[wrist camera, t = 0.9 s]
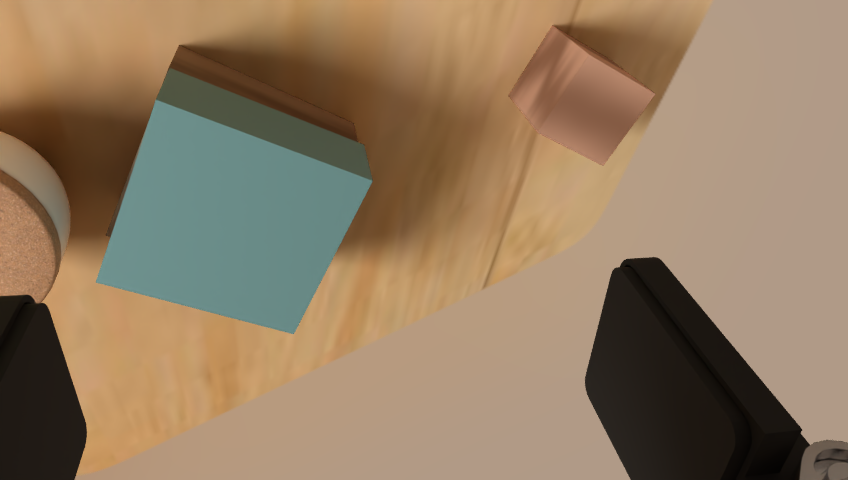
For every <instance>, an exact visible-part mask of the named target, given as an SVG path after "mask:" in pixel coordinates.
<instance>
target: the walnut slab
mask: <svg viewBox="0 0 848 480" xmlns="http://www.w3.org/2000/svg"><path fill="white" fill-rule="evenodd" d="M170 68H171V69H174V70H176V71H179V72H182V73H184V74H187V75H189V76H192V77H194V78H197V79H199V80H202V81H204V82H207V83H209V84H212V85H214V86H217V87H219V88H222V89H224V90H227V91H230V92H232V93H235V94H237V95H240V96H242V97H245V98H247V99H250V100H252V101H255V102H257V103H260V104H262V105H265V106H267V107H270V108H272V109H275V110H278V111H280V112H283V113H285V114H288V115H290V116H293V117H295V118H298V119H300V120H303V121H305V122H308V123H310V124H313V125H315V126H318V127H320V128H323V129H326V130H328V131H331V132H333V133H336V134H338V135H341V136H343V137H346V138H348V139H351V140H353V141H356V142H358V141H357V136H356V132H355V127H354V123H352V122H350V121H347V120H345V119H343V118H341V117H338V116H336V115H334V114H332V113H329V112H327V111H325V110H323V109H321V108H318V107H316V106H314V105H312V104H309V103H307V102H305V101H303V100H300V99H298V98H296V97H294V96H292V95H289V94H287V93H285V92H283V91H280V90H278V89H276V88H274V87H271V86H269V85H267V84H265V83H263V82H260V81H258V80H256V79H254V78H251V77H249V76H247V75H245V74H242V73H240V72H238V71H236V70H233V69H231V68H229V67H227V66H225V65H222V64H220V63H218V62H216V61H213V60H211V59H209V58H207V57H204V56H202V55H200V54H198V53H196V52H193V51H191V50H189V49H187V48H184V47H182V46H180V45H179V47H178V49H177V51H176V53H175V55H174V58H173V60H172V62H171V64H170V66H169V69H170ZM169 69H168V71H169ZM168 71H167V73H168ZM166 75H167V74H166ZM165 78H166V77H165ZM164 80H165V79H164ZM162 85H163V84H162ZM147 125H148V124H147ZM146 128H147V127H146ZM145 131H146V130H145ZM144 134H145V132H144ZM143 137H144V135H143ZM142 140H143V138H142ZM142 140H141V143H142ZM141 143H140V146H141ZM140 146H139V148H138V151H137V154H136V156H135V159H134V162H133V164H132V167H131V170H130V172H129V175H128V178H127V180H126V183H125V186H124V188H123V191H122V194H121V196H120V199H119V202H118V204H117V207H116V209H115V212H114V215H113V217H112V220H111V223H110V225H109V228H108V231H107V233H106V236H110V237H111V235H112V232H113V229H114V226H115V222H116V219H117V216H118V213H119V210H120V207H121V204H122V201H123V198H124V195H125V192H126V189H127V186H128V183H129V180H130V177H131V174H132V171H133V168H134V165H135V162H136V159H137V156H138V153H139V149H140Z"/></svg>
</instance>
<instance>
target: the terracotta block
mask: <svg viewBox="0 0 848 480" xmlns="http://www.w3.org/2000/svg"><path fill="white" fill-rule="evenodd" d="M654 95H655V93H654V92H652V91H651V90H650V89H648V88H647V87H646V86H644V85H643V84H642V83H640V82H639V81H638V80H637V79H635V78H634V77H633V76H631V75H630V74H629V73H627V72H626V71H625V70H623V69H622V68H621V67H619V66H618V65H617V64H615V63H614V62H613V61H611V60H609V59H608V58H606V57H604V56H603V55H601V54H599V53H598V52H596V51H594V50H593V49H591V48H589V47H588V46H586V45H584V44H583V43H581V42H579V41H578V40H576V39H574V38H573V37H571V36H569V35H568V34H566V33H564V32H563V31H561V30H559V29H558V28H556V27H554V26H553V25H552V27H551V28H550V30H549V32H548V33H547V35H546V36H545V38H544V39H543V41H542V43H541V44H540V46H539V47H538V49H537V51H536V52H535V54H534V55H533V57H532V59H531V60H530V62H529V63H528V65H527V67H526V68H525V70H524V71H523V73H522V75H521V76H520V78H519V79H518V81H517V83H516V84H515V86H514V87H513V89H512V91H511V92H510V94H509V95H508V96H509V97H510V98H511V100H512V101H513V102H514V103H515V105H516V106H517V107H518V108H519V110H520V111H521V112H522V113H523V115H524V116H525V117H526V119H527V120H528V121H529V122H530V124H531V125H532V126H533V127H534V129H535V130H536V131H537V132H538V133H539V134H541V135H543V136H545V137H547V138H549V139H551V140H553V141H555V142H557V143H559V144H561V145H563V146H565V147H567V148H569V149H571V150H573V151H575V152H577V153H579V154H581V155H583V156H585V157H587V158H589V159H591V160H592V161H594V162H596V163H598V164H600V165H602V166H603V165H604V164H605V163H606V161H607V160H608V159H609V157H610V156H611V154H612V153H613V152H614V150H615V149H616V148H617V146H618V145H619V143H620V142H621V141H622V139H623V138H624V137H625V135H626V134H627V132H628V131H629V130H630V128H631V127H632V126H633V124H634V123H635V122H636V120H637V119H638V117H639V116H640V115H641V113H642V112H643V111H644V109H645V108H646V106H647V105H648V104H649V102H650V101H651V100H652V98H653V97H654Z"/></svg>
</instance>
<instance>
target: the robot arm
mask: <svg viewBox="0 0 848 480" xmlns="http://www.w3.org/2000/svg"><path fill="white" fill-rule="evenodd" d="M585 386H586V391H587V395H588V397H589V399H590V401H591V403H592V405H593V407H594V409H595V411H596V413H597V415H598V417H599V419H600V421H601V423H602V425H603V427H604V429H605V430H606V432H607V434H608V436H609V438H610V440H611V442H612V444H613V446H614V448H615V450H616V452H617V454H618V456H619V458H620V460H621V462H622V463H623V465H624V467H625V469H626V471H627V473H628V475H629V477H630V479H631V480H848V443H847V442H843V441H832V440H824V441H820V442H815V443H813V444H812V445H810V444H809V443H808V442H807V441H806V440H805V438H804V437H803V436H802V435H801V431H802V429H801V428H800V426H799V425H798V424H797V423H796V421H795V420H794V419H793V418H792V417H791V416H790V414H789V413H788V412H787V411H786V409H785V408H784V407H783V406H782V405H781V403H780V402H779V401H778V400H777V399H776V397H775V396H774V395H773V394H772V393H771V391H769V389H768V388H767V387H766V386H765V384H764V383H763V382H762V381H761V379H760V378H759V377H758V376H757V375H756V373H755V372H754V371H753V370H752V369H751V367H750V366H749V365H748V364H747V363H746V361H745V360H744V359H743V358H742V357H741V355H740V354H739V353H738V352H737V351H736V349H735V348H734V347H733V346H732V345H731V343H730V342H729V341H728V340H727V339H726V338H725V336H724V335H723V334H722V332H721V331H720V330H719V329H718V328H717V327H716V325H715V324H714V323H713V322H712V320H711V319H710V318H709V317H708V316H707V314H706V313H705V312H704V311H703V310H702V308H701V307H700V306H699V305H698V304H697V302H696V301H695V300H694V299H693V298H692V296H691V295H690V294H689V293H688V292H687V290H686V289H685V288H684V287H683V286H682V284H681V283H680V282H679V281H678V280H677V278H676V277H675V276H674V275H673V274H672V272H671V271H670V270H669V269H668V268H667V266H666V265H665V264H664V263H663V262H662V261H661V260H660V259H659V258H656V257H652V258H634V259H626V260H624V261H623V262H622V263H621V266H620V267H618V268H615V269H614V270H613V271H612V274H611V277H610V281H609V285H608V289H607V293H606V297H605V301H604V305H603V309H602V313H601V317H600V321H599V325H598V329H597V333H596V337H595V341H594V345H593V349H592V352H591V357H590V360H589V364H588V368H587V372H586V377H585ZM86 437H87V429H86V422H85V419H84V416H83V413H82V410H81V406H80V403H79V400H78V397H77V394H76V391H75V388H74V385H73V382H72V379H71V376H70V373H69V370H68V367H67V364H66V360H65V357H64V354H63V351H62V348H61V345H60V342H59V339H58V336H57V333H56V330H55V327H54V324H53V321H52V318H51V314H50V311H49V309H48V307H47V305H46V304H44V303H36V302H35V300H34V299H33V297H32V296H30V295H11V296H0V480H74V479H75V476H76V473H77V470H78V467H79V464H80V460H81V457H82V454H83V451H84V448H85V444H86Z"/></svg>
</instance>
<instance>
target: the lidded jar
mask: <svg viewBox="0 0 848 480" xmlns="http://www.w3.org/2000/svg"><path fill="white" fill-rule="evenodd" d="M70 226H71V214H70V205H69V201H68V197H67V194H66V191H65V188H64V186H63V184H62V181H61V180H60V178H59V176H58V175H57V173H56V172H55V170H54V169H53V168H52V167H51V165H50V164H49V163H48V162H47V161H46V160H45V159H44V158H43V157H42V156H41V155H40V154H39V153H38V152H37V151H35V150H34V149H33V148H31V147H30V146H29V145H27V144H26V143H24V142H23V141H21V140H19V139H17V138H15V137H13V136H11V135H9V134H6V133H4V132H1V131H0V296H11V295H30V296H32V297H33V299H34V300H35V302H36V303H41V302H42V301H43V300H44V298H45V297H46V296H47V294H48V293H49V291H50V290H51V288H52V286H53V284H54V281H55V279H56V277H57V274H58V272H59V267H60V263H61V261H62V259H63V256H64V254H65V251H66V248H67V244H68V239H69V234H70Z"/></svg>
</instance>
